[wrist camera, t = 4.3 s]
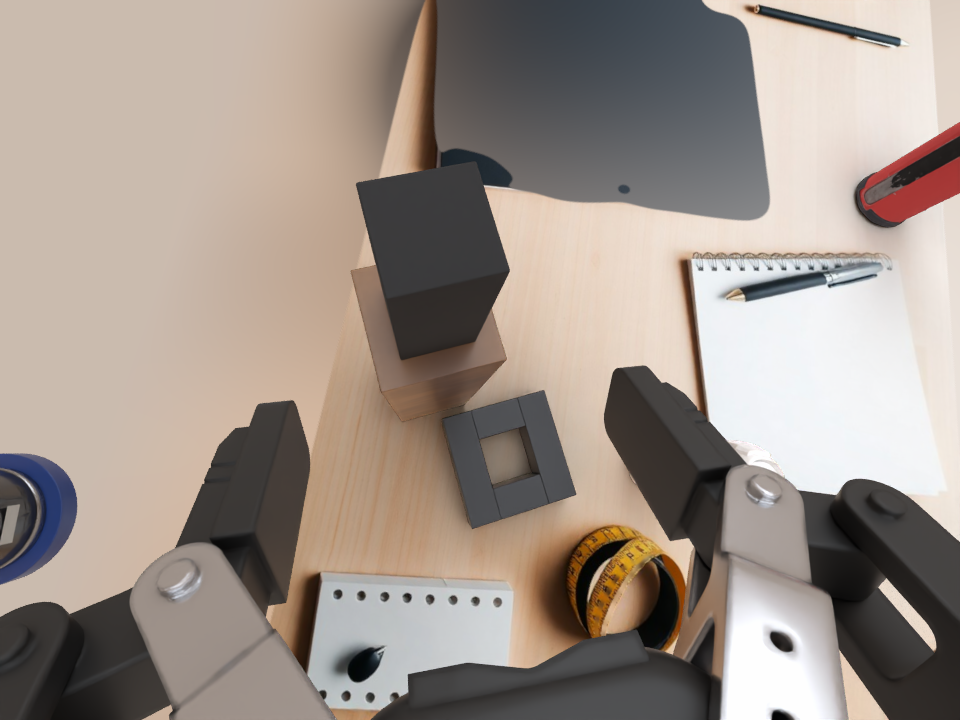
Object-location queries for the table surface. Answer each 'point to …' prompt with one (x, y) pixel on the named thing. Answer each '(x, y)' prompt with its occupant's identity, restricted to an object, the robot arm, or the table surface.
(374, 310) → the stand
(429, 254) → the post
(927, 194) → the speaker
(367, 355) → the table surface
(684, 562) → the table surface
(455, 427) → the socket pad
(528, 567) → the table surface
